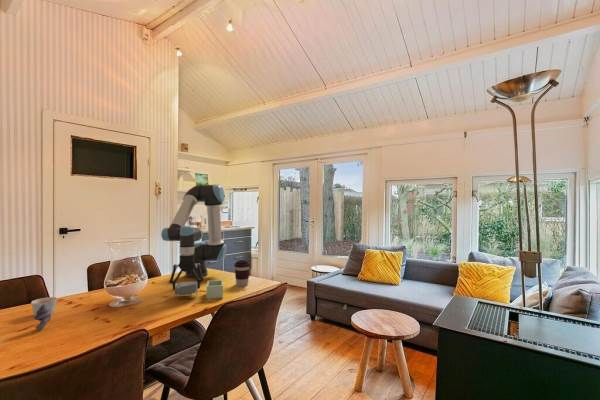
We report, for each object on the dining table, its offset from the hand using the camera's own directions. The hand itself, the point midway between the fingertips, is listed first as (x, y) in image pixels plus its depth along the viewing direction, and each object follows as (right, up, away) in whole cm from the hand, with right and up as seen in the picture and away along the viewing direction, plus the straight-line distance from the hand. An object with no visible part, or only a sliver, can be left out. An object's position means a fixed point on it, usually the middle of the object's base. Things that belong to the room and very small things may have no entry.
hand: (186, 295), depth 161 cm
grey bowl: (-55, -1, -26) cm, 61 cm away
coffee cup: (+25, -2, +25) cm, 36 cm away
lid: (0, +2, 0) cm, 2 cm away
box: (+15, -1, +3) cm, 15 cm away
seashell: (-42, 0, -42) cm, 59 cm away
